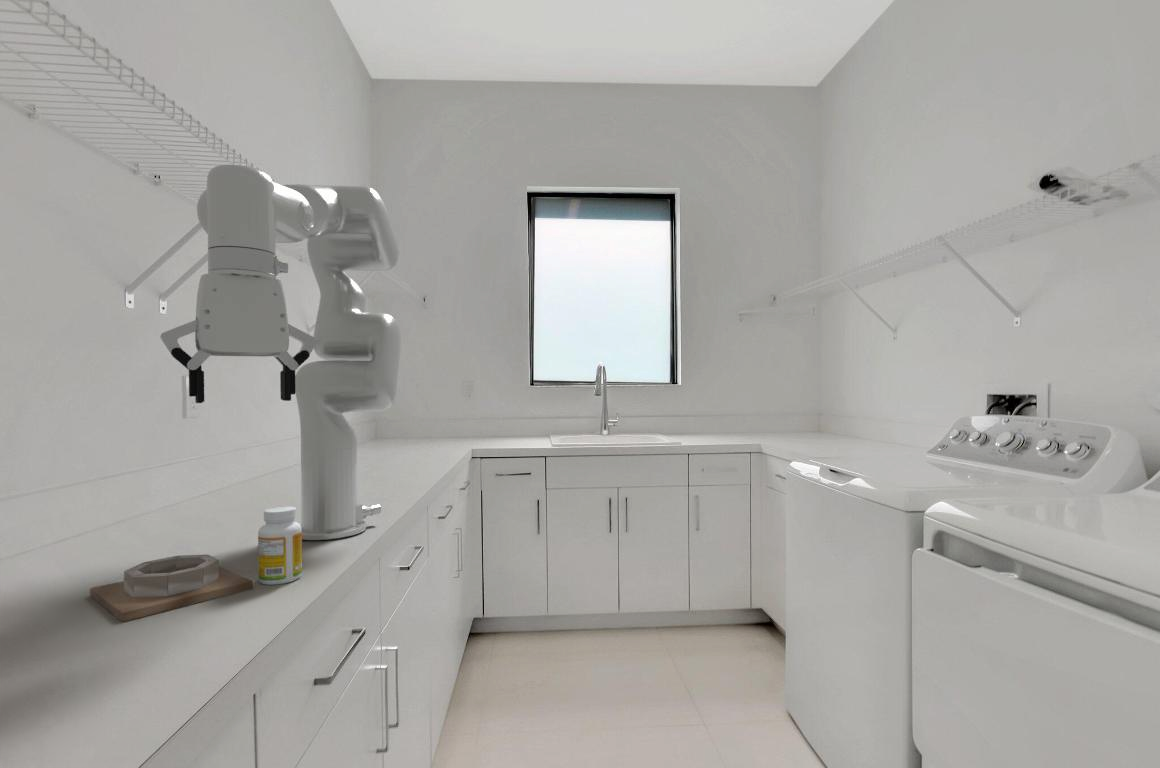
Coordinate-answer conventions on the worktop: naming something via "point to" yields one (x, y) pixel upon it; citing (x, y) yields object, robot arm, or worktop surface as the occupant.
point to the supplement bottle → (280, 547)
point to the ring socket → (168, 586)
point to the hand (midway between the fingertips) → (244, 401)
